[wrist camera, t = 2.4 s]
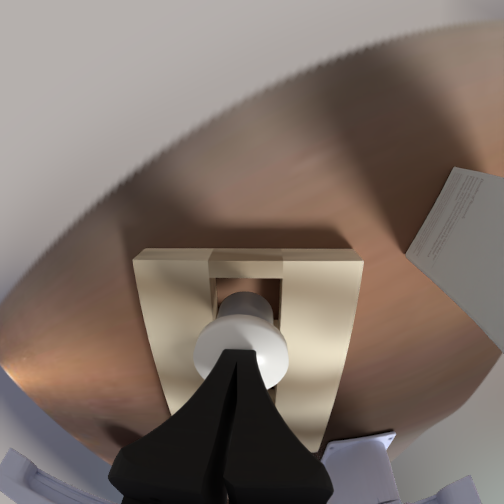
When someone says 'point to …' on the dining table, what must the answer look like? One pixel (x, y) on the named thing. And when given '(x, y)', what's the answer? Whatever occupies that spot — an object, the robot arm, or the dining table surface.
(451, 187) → the supplement box
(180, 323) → the board
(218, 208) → the dining table surface
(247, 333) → the knob
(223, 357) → the robot arm
